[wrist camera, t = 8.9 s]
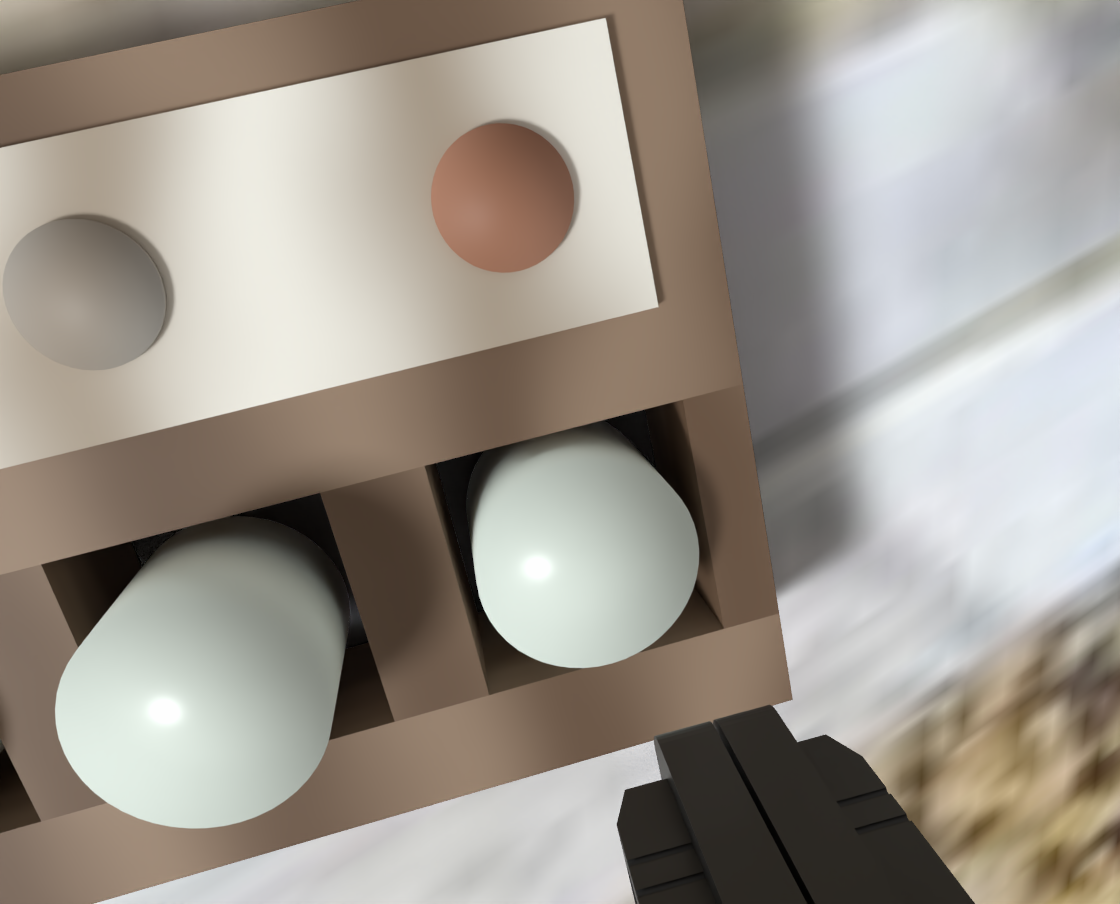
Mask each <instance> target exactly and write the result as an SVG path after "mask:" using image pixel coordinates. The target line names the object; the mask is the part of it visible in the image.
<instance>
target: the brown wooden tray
mask: <svg viewBox="0 0 1120 904" xmlns="http://www.w3.org/2000/svg"><path fill="white" fill-rule="evenodd" d="M644 409H645V414H646V419H647V424H648V429H649V435H650V440H651V445H652V450H653V455H654V460H655V465H656V470H657V472H658V473H659V474H660V475H661V476H662V477H663V478H664V480H665V481H666V482H667V483H668V484H669V485H670V486H671V487H672V488H673V490H674V491H675V492H676V493H677V494H678V496H679V497H680V498H681V499H682V501H683V502H684V504H685V506H686V507H687V509H688V511H689V513H690V515H691V518H692V520H693V522H694V525H695V529H696V533H697V537H698V545H699V566H698V572H697V578H696V581H695V585H694V588H693V591H692V593H691V596H690V598H689V600H688V602H687V604H686V606H685V608H684V609H683V611H682V613H681V614H680V616H679V617H678V618H677V620H676V621H675V622H674V623H673V625H672V626H671V627H670V628H669V629H668V630H667V631H666V632H665V633H664V634H663V635H662V636H661V637H660V638H659V639H657V640H656V641H655V642H654V643H652V644H651V645H650V646H648V647H647V648H645V649H643V650H642V651H640V652H639V653H637V654H635V655H633V656H630V657H628V658H626V659H624V660H621V661H618V662H615V663H612V664H608V665H603V666H599V667H590V668H568V667H560V666H555V665H551V664H547V663H544V662H541V661H538V660H536V659H534V658H531V657H529V656H527V655H526V654H524V653H522V652H521V651H519V650H517V649H516V648H515V647H513V646H512V645H511V644H510V643H508V642H507V641H506V640H505V639H504V638H503V637H502V636H501V635H500V634H499V633H498V631H497V630H496V629H495V627H494V626H493V624H492V623H491V622H490V620H489V618H488V616H487V614H486V612H485V611H482V612H478V611H477V608H476V604H475V600H474V597H473V593H472V590H471V586H470V582H469V579H468V575H467V572H466V568H465V564H464V561H463V557H462V554H461V550H460V546H459V543H458V539H457V536H456V532H455V529H454V525H453V521H452V518H451V514H450V511H449V507H448V503H447V500H446V496H445V493H444V489H443V485H442V482H441V478H440V475H439V471H438V468H437V464H436V463H438V462H442V461H446V460H450V459H454V458H457V457H461V456H465V455H469V454H473V453H477V452H481V451H485V450H489V449H493V448H496V447H500V446H504V445H508V444H512V443H516V442H520V441H524V440H528V439H531V438H535V437H539V436H543V435H547V434H551V433H555V432H559V431H563V430H567V429H570V428H574V427H578V426H582V425H586V424H590V423H594V422H598V421H602V420H605V419H609V418H613V417H617V416H621V415H625V414H629V413H633V412H637V411H641V410H644ZM317 493H320V494H321V498H322V501H323V504H324V507H325V510H326V513H327V516H328V519H329V522H330V525H331V528H332V531H333V534H334V537H335V540H336V543H337V547H338V550H339V553H340V556H341V559H342V562H343V565H344V568H345V571H346V574H347V577H348V580H349V583H350V586H351V589H352V592H353V596H354V599H355V602H356V605H357V608H358V611H359V614H360V617H361V620H362V623H363V626H364V629H365V632H366V635H367V638H368V641H369V642H368V643H365V644H361V645H357V646H354V647H350V648H346V649H345V654H344V659H343V665H342V671H341V676H340V682H339V688H338V693H337V699H336V705H335V711H334V716H333V722H332V727H331V732H330V737H329V741H328V744H327V747H326V750H325V753H324V755H323V757H322V759H321V761H320V763H319V764H318V766H317V768H316V769H315V771H314V772H313V773H312V775H311V776H310V778H309V779H308V780H307V781H306V782H305V783H304V784H303V785H302V786H301V788H300V789H299V790H298V791H297V792H295V793H294V794H293V795H292V796H290V797H289V798H288V799H287V800H286V801H284V802H282V803H281V804H279V805H278V806H276V807H275V808H273V809H271V810H269V811H267V812H265V813H263V814H261V815H259V816H257V817H254V818H251V819H248V820H246V821H243V822H239V823H235V824H231V825H226V826H221V827H212V828H178V827H170V826H165V825H159V824H154V823H151V822H148V821H145V820H142V819H138V818H136V817H134V816H132V815H129V814H127V813H125V812H122V811H121V810H119V809H117V808H116V807H114V806H112V805H110V804H109V803H107V802H106V801H104V800H103V799H102V798H101V797H99V796H98V795H97V794H95V793H94V792H93V791H92V790H91V789H90V788H89V787H88V786H87V785H86V784H85V783H84V782H83V781H82V780H81V779H80V777H79V776H78V775H77V773H76V772H75V771H74V769H73V768H72V766H71V765H70V763H69V761H68V759H67V758H66V756H65V754H64V751H63V749H62V746H61V743H60V741H59V737H58V733H57V728H56V719H55V704H56V695H57V690H58V687H59V683H60V680H61V677H62V675H63V673H64V670H65V668H66V666H67V664H68V662H69V661H70V659H71V658H72V656H73V655H74V653H75V652H76V650H77V649H78V647H79V646H80V645H81V644H82V642H83V641H84V640H85V639H86V637H87V636H88V635H89V634H90V632H91V631H92V630H93V628H94V627H95V626H96V625H97V623H98V622H99V621H100V620H101V618H102V617H103V616H104V614H105V613H106V612H107V611H108V609H109V608H110V607H111V606H112V604H113V603H114V602H115V601H116V599H117V598H118V597H119V595H120V594H121V593H122V592H123V590H124V589H125V588H126V587H127V585H128V584H129V583H130V581H131V580H132V579H133V578H134V576H135V575H136V574H137V573H138V571H139V570H140V569H141V564H140V562H139V559H138V557H137V554H136V552H135V549H134V547H133V544H132V542H131V541H134V540H138V539H142V538H146V537H150V536H154V535H158V534H161V533H165V532H169V531H173V530H177V529H181V528H185V527H189V526H193V525H196V524H200V523H204V522H208V521H212V520H216V519H220V518H224V517H228V516H232V515H235V514H239V513H243V512H247V511H251V510H255V509H259V508H263V507H267V506H270V505H274V504H278V503H282V502H286V501H290V500H294V499H298V498H302V497H306V496H309V495H313V494H317ZM790 700H793V699H792V693H791V686H790V680H789V674H788V667H787V661H786V654H785V648H784V642H783V635H782V629H781V623H780V616H779V610H778V603H777V597H776V591H775V584H774V578H773V572H772V565H771V559H770V552H769V546H768V540H767V533H766V527H765V521H764V514H763V508H762V501H761V495H760V489H759V482H758V476H757V470H756V463H755V457H754V451H753V444H752V438H751V431H750V425H749V419H748V412H747V406H746V400H745V393H744V387H743V380H742V374H741V368H740V361H739V355H738V349H737V342H736V336H735V329H734V323H733V317H732V310H731V304H730V298H729V291H728V285H727V278H726V272H725V266H724V259H723V253H722V247H721V240H720V234H719V227H718V221H717V215H716V208H715V202H714V196H713V189H712V183H711V177H710V170H709V164H708V157H707V151H706V145H705V138H704V132H703V126H702V119H701V113H700V106H699V100H698V94H697V87H696V81H695V75H694V68H693V62H692V55H691V49H690V43H689V36H688V30H687V24H686V17H685V11H684V4H683V0H358V1H353V2H349V3H344V4H339V5H334V6H329V7H325V8H320V9H315V10H310V11H305V12H300V13H296V14H291V15H286V16H281V17H276V18H272V19H267V20H262V21H257V22H252V23H247V24H243V25H238V26H233V27H228V28H223V29H218V30H214V31H209V32H204V33H199V34H194V35H190V36H185V37H180V38H175V39H170V40H165V41H161V42H156V43H151V44H146V45H141V46H137V47H132V48H127V49H122V50H117V51H112V52H108V53H103V54H98V55H93V56H88V57H84V58H79V59H74V60H69V61H64V62H59V63H55V64H50V65H45V66H40V67H35V68H31V69H26V70H21V71H16V72H11V73H6V74H2V75H0V739H1V741H2V743H3V745H4V747H5V748H4V749H3V750H2V752H1V753H0V904H94V903H97V902H101V901H104V900H108V899H111V898H115V897H118V896H121V895H125V894H128V893H132V892H135V891H139V890H142V889H145V888H149V887H152V886H156V885H159V884H163V883H166V882H169V881H173V880H176V879H180V878H183V877H187V876H190V875H193V874H197V873H200V872H204V871H207V870H211V869H214V868H217V867H221V866H224V865H228V864H231V863H234V862H238V861H241V860H245V859H248V858H252V857H255V856H258V855H262V854H265V853H269V852H272V851H276V850H279V849H282V848H286V847H289V846H293V845H296V844H300V843H303V842H306V841H310V840H313V839H317V838H320V837H324V836H327V835H330V834H334V833H337V832H341V831H344V830H348V829H351V828H354V827H358V826H361V825H365V824H368V823H372V822H375V821H378V820H382V819H385V818H389V817H392V816H396V815H399V814H402V813H406V812H409V811H413V810H416V809H420V808H423V807H426V806H430V805H433V804H437V803H440V802H444V801H447V800H450V799H454V798H457V797H461V796H464V795H468V794H471V793H474V792H478V791H481V790H485V789H488V788H492V787H495V786H498V785H502V784H505V783H509V782H512V781H516V780H519V779H522V778H526V777H529V776H533V775H536V774H540V773H543V772H546V771H550V770H553V769H557V768H560V767H564V766H567V765H570V764H574V763H577V762H581V761H584V760H588V759H591V758H594V757H598V756H601V755H605V754H608V753H612V752H615V751H618V750H622V749H625V748H629V747H632V746H636V745H639V744H642V743H646V742H649V741H653V740H654V736H656V735H660V734H664V733H668V732H671V731H675V730H679V729H682V728H686V727H690V726H693V725H697V724H701V723H704V722H708V721H710V722H712V723H713V720H715V719H718V718H722V717H726V716H729V715H733V714H737V713H740V712H744V711H748V710H752V709H755V708H759V707H763V706H766V705H771V706H773V705H776V704H779V703H783V702H786V701H790Z"/></svg>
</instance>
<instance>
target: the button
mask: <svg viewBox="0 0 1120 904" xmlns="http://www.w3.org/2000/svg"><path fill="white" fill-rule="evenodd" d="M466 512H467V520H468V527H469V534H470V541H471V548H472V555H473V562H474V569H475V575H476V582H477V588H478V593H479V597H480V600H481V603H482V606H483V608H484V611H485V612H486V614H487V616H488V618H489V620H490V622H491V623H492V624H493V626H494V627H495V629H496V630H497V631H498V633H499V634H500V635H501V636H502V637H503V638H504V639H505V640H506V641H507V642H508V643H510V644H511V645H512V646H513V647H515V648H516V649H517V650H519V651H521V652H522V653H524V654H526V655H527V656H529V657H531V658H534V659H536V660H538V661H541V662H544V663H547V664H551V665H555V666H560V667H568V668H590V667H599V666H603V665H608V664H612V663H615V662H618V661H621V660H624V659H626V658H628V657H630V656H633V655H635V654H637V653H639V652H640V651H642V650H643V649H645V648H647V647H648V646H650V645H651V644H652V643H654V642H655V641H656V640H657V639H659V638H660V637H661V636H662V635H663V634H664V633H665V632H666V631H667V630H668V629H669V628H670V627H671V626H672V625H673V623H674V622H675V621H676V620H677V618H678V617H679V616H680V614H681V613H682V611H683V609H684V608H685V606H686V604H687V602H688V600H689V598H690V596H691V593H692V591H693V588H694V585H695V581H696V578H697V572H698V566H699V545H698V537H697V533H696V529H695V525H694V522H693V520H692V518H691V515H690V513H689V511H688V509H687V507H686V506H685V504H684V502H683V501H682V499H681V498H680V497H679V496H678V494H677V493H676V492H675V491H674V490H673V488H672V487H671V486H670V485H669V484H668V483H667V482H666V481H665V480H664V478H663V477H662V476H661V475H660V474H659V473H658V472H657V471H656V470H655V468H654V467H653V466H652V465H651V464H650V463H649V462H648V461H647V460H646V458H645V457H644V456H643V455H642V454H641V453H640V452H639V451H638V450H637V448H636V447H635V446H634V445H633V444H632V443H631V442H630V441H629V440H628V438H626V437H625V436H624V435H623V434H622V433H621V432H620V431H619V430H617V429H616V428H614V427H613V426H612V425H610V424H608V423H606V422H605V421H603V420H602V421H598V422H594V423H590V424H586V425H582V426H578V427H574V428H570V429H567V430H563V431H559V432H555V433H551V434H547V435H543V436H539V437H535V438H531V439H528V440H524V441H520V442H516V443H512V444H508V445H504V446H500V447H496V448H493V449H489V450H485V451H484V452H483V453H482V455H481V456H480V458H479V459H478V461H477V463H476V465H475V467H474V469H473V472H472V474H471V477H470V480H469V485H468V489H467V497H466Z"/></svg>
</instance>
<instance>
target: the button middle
mask: <svg viewBox="0 0 1120 904" xmlns="http://www.w3.org/2000/svg"><path fill="white" fill-rule="evenodd" d="M349 625H350V602H349V596H348V592H347V588H346V585H345V583H344V581H343V578H342V576H341V574H340V572H339V570H338V569H337V567H336V565H335V564H334V562H333V561H332V560H331V559H330V557H329V556H328V555H327V554H326V553H325V552H324V551H323V550H322V549H321V548H320V547H319V546H318V545H317V544H316V543H315V542H313V541H312V540H311V539H309V538H308V537H307V536H305V535H303V534H302V533H300V532H298V531H296V530H295V529H293V528H290V527H288V526H286V525H283V524H281V523H278V522H274V521H271V520H267V519H262V518H256V517H244V516H232V517H224V518H220V519H216V520H212V521H208V522H204V523H200V524H196V525H193V526H190V527H188V528H185V529H183V530H181V531H180V532H178V533H176V534H175V535H173V536H172V537H170V538H169V539H168V540H166V541H165V542H164V543H163V544H162V545H161V546H159V547H158V548H157V549H156V551H155V552H154V553H153V554H152V555H151V556H150V557H149V559H148V560H147V561H146V562H145V564H144V565H143V566H142V567H141V569H140V570H139V571H138V573H137V574H136V575H135V576H134V578H133V579H132V580H131V581H130V583H129V584H128V585H127V587H126V588H125V589H124V590H123V592H122V593H121V594H120V595H119V597H118V598H117V599H116V601H115V602H114V603H113V604H112V606H111V607H110V608H109V609H108V611H107V612H106V613H105V614H104V616H103V617H102V618H101V620H100V621H99V622H98V623H97V625H96V626H95V627H94V628H93V630H92V631H91V632H90V634H89V635H88V636H87V637H86V639H85V640H84V641H83V642H82V644H81V645H80V646H79V647H78V649H77V650H76V652H75V653H74V655H73V656H72V658H71V659H70V661H69V662H68V664H67V666H66V668H65V670H64V673H63V675H62V677H61V680H60V683H59V687H58V690H57V695H56V704H55V719H56V728H57V733H58V737H59V741H60V743H61V746H62V749H63V751H64V754H65V756H66V758H67V759H68V761H69V763H70V765H71V766H72V768H73V769H74V771H75V772H76V773H77V775H78V776H79V777H80V779H81V780H82V781H83V782H84V783H85V784H86V785H87V786H88V787H89V788H90V789H91V790H92V791H93V792H94V793H95V794H97V795H98V796H99V797H101V798H102V799H103V800H104V801H106V802H107V803H109V804H110V805H112V806H114V807H116V808H117V809H119V810H121V811H122V812H125V813H127V814H129V815H132V816H134V817H136V818H138V819H142V820H145V821H148V822H151V823H154V824H159V825H165V826H170V827H178V828H212V827H221V826H226V825H231V824H235V823H239V822H243V821H246V820H248V819H251V818H254V817H257V816H259V815H261V814H263V813H265V812H267V811H269V810H271V809H273V808H275V807H276V806H278V805H279V804H281V803H282V802H284V801H286V800H287V799H288V798H289V797H290V796H292V795H293V794H294V793H295V792H297V791H298V790H299V789H300V788H301V786H302V785H303V784H304V783H305V782H306V781H307V780H308V779H309V778H310V776H311V775H312V773H313V772H314V771H315V769H316V768H317V766H318V764H319V763H320V761H321V759H322V757H323V755H324V753H325V750H326V747H327V744H328V741H329V737H330V732H331V727H332V722H333V716H334V711H335V705H336V699H337V693H338V688H339V682H340V676H341V671H342V665H343V659H344V654H345V648H346V642H347V637H348V631H349Z"/></svg>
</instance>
